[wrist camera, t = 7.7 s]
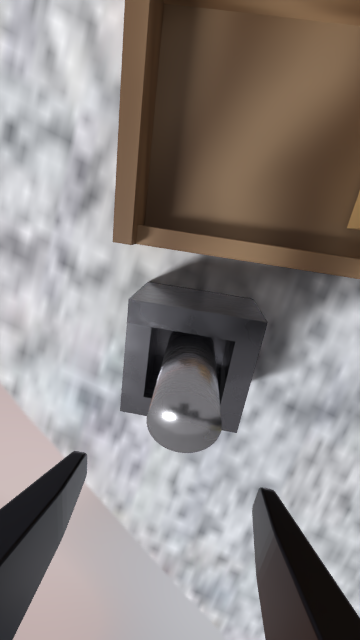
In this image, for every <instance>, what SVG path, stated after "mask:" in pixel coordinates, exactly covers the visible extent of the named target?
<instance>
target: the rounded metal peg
mask: <svg viewBox="0 0 360 640" xmlns="http://www.w3.org/2000/svg"><path fill="white" fill-rule="evenodd" d="M147 427H148V430H149V432H150V434H151V436H152V437H153V438H154V439H155V441H157V442H158V443H159V444H160V445H162V446H163V447H165V448H167V449H169V450H172V451H175V452H181V453H193V452H198V451H201V450H204V449H206V448H208V447H209V446H211V445H212V444H213V443H214V442H215V441H216V440H217V439H218V437H219V435H220V433H221V429H222V419H221V409H220V399H219V389H218V380H217V370H216V360H215V350H214V342H213V339H212V337H206V336H200V335H195V334H189V333H183V332H177V331H174V332H173V333H172V334H171V336H170V338H169V341H168V344H167V348H166V351H165V355H164V358H163V362H162V365H161V369H160V373H159V376H158V380H157V383H156V387H155V390H154V394H153V397H152V401H151V404H150V408H149V411H148V415H147Z"/></svg>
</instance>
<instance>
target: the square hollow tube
mask: <svg viewBox="0 0 360 640" xmlns="http://www.w3.org/2000/svg"><path fill="white" fill-rule="evenodd" d="M266 326H267V321H266V319H265V318H264V316H263V315H262V313H261V311H260V310H259V308H258V307H257V305H256V304H255V302H254V300H253V299H249V298H243V297H237V296H231V295H225V294H219V293H213V292H207V291H201V290H195V289H189V288H182V287H176V286H170V285H164V284H158V283H152V282H147V283H146V284H145V285H144V286H143V287H142V288H141V289H140V290H138V291H137V292H136V293H135V294H134V295H133V296H132V297H131V298H130V299H129V304H128V317H127V330H126V343H125V356H124V368H123V381H122V394H121V407H120V411H123V412H128V413H134V414H139V415H144V416H147V415H148V411H149V408H150V404H151V401H152V397H153V394H154V390H155V387H156V383H157V380H158V376H159V373H160V369H161V365H162V362H163V358H164V355H165V351H166V348H167V344H168V341H169V338H170V336H171V334H172V333H173V332H174V331H177V332H183V333H189V334H195V335H200V336H206V337H212V339H213V342H214V350H215V360H216V370H217V380H218V389H219V399H220V409H221V419H222V429H221V430H224V431H229V432H234V433H237V430H238V426H239V423H240V419H241V416H242V412H243V408H244V405H245V401H246V398H247V394H248V390H249V387H250V383H251V380H252V376H253V373H254V369H255V365H256V362H257V358H258V355H259V351H260V348H261V344H262V340H263V337H264V333H265V330H266Z"/></svg>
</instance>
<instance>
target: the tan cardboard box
mask: <svg viewBox="0 0 360 640" xmlns="http://www.w3.org/2000/svg"><path fill="white" fill-rule="evenodd" d="M347 228H349V229H356V230H360V191H359V194H358V197H357V200H356V203H355V206H354V209H353V212H352V214H351V217H350V220H349V223H348V226H347Z"/></svg>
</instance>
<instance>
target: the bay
mask: <svg viewBox="0 0 360 640" xmlns="http://www.w3.org/2000/svg"><path fill="white" fill-rule="evenodd" d="M359 191H360V0H125V12H124V32H123V51H122V71H121V90H120V110H119V130H118V149H117V169H116V189H115V208H114V228H113V242H116V243H123V244H129V245H133V244H140V245H147V246H153V247H159V248H166V249H172V250H178V251H185V252H191V253H197V254H204V255H210V256H216V257H223V258H229V259H235V260H242V261H248V262H255V263H261V264H267V265H274V266H280V267H286V268H293V269H299V270H305V271H312V272H318V273H324V274H331V275H337V276H343V277H350V278H356V279H360V230H356V229H349V228H347V226H348V223H349V220H350V217H351V214H352V212H353V209H354V206H355V203H356V200H357V197H358V194H359Z"/></svg>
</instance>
